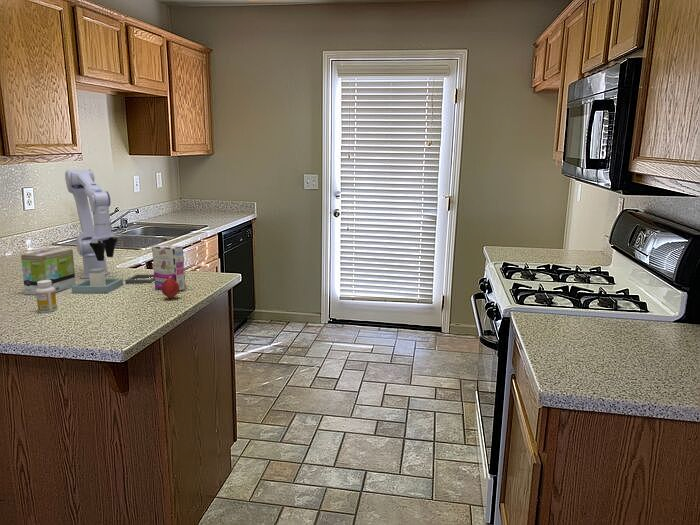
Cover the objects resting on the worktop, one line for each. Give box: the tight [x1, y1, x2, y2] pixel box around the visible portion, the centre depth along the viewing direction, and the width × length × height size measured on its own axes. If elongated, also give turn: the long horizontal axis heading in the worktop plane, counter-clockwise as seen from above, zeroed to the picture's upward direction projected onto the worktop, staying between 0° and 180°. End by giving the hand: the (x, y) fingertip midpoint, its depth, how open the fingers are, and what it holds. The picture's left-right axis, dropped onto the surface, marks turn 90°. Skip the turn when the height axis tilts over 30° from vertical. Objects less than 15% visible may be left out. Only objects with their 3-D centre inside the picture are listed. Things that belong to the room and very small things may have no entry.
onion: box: [161, 276, 180, 300], centre depth 189 cm, size 6×6×8 cm
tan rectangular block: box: [88, 268, 107, 286], centre depth 203 cm, size 4×4×7 cm
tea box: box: [20, 248, 77, 296], centre depth 201 cm, size 15×10×15 cm
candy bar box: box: [151, 244, 186, 292], centre depth 201 cm, size 11×5×16 cm, turn 62°
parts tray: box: [70, 278, 124, 294], centre depth 204 cm, size 13×13×2 cm
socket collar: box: [125, 274, 155, 285], centre depth 216 cm, size 10×10×2 cm
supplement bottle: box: [35, 280, 58, 314], centre depth 175 cm, size 5×5×10 cm
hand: (105, 258), depth 210 cm, fingers open, 7 cm apart
